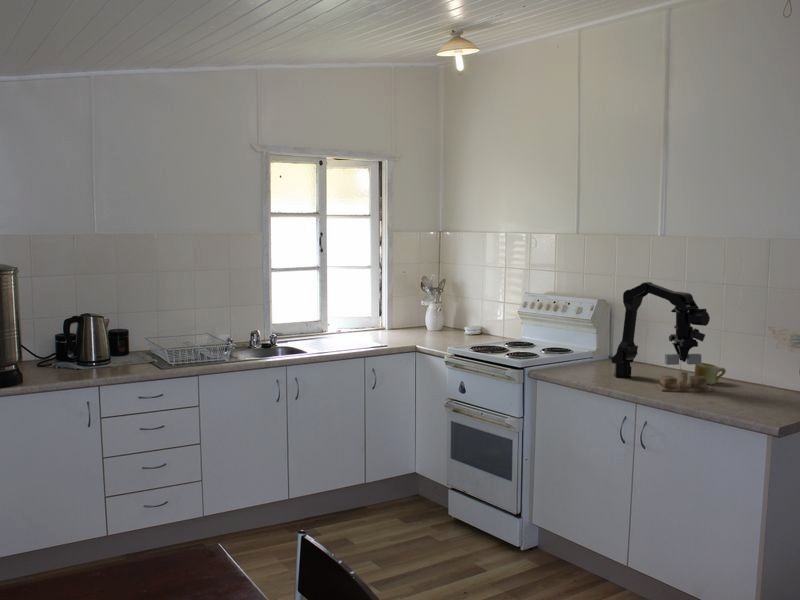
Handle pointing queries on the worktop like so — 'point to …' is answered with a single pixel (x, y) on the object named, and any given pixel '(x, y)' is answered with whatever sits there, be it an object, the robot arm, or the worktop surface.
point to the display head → (683, 383)
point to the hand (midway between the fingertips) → (682, 361)
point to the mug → (709, 372)
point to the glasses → (674, 358)
